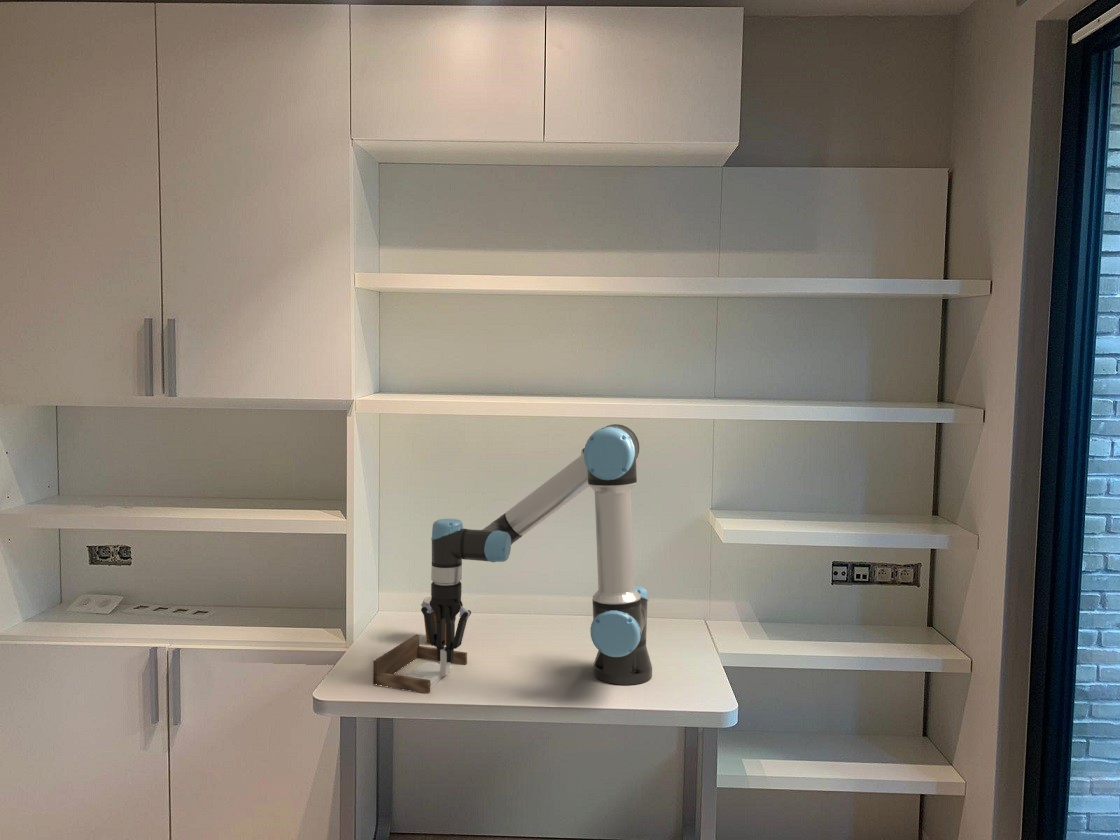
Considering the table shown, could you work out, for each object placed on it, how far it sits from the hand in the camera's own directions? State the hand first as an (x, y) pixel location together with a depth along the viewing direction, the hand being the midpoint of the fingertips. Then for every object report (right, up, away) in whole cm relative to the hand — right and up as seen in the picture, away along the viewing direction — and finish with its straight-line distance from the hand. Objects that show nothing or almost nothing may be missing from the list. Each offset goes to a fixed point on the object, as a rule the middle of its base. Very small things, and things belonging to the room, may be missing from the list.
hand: (445, 673), depth 217 cm
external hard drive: (-5, -2, +1) cm, 5 cm away
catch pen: (-6, -1, +2) cm, 6 cm away
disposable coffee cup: (-6, +1, +27) cm, 28 cm away
